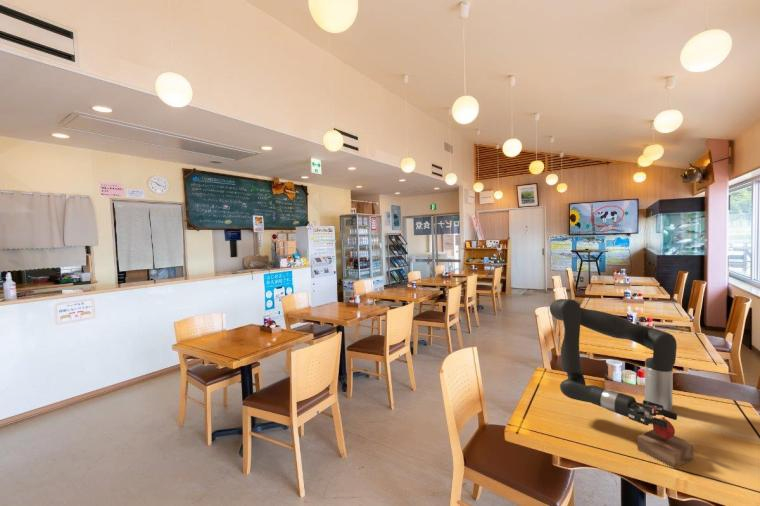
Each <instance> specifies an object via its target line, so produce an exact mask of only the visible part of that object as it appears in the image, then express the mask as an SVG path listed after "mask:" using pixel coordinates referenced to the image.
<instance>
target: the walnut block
mask: <svg viewBox="0 0 760 506" xmlns="http://www.w3.org/2000/svg"><path fill="white" fill-rule="evenodd" d="M694 446H695V445H694V443H692V442H689V441H687V440H685V439H682V438H680V437H678V436H675V435H674V436H673V437H671V438H669V439H667V440H663V439H662V438H661V437H659V436H658V435H657V434H656V433H655V431H654V429H653V428H652V429H651V430H648V431H647V432H644V433H642V434H639V435H637V451H639V452H641V453H642V452H643V454H644V453H645V455H646V454H647V456H648V455H649V456H648V457H650V456H651V457H650V458H652V457H653V458H652V459H654V458H655V459H654V460H656V459H657V460H656V461H658V460H659V461H658V462H660V461H661V462H660V463H662V462H663V463H662V464H664V463H665V464H664V465H666V464H667V465H666V466H668V465H669V466H668V467H670V466H671V467H670V468H672V467H673V468H672V469H674V468H675V469H677V468H679V467H681V466H682V465H681V464H683V465H684V463H685V462H686V463H688V462H690V461H692V460H693V459H694ZM691 459H692V460H691ZM689 460H690V461H689ZM687 461H688V462H687ZM686 463H685V464H686ZM680 465H681V466H680ZM678 466H679V467H678ZM676 467H677V468H676Z"/></svg>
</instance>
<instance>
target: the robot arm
mask: <svg viewBox="0 0 760 506" xmlns="http://www.w3.org/2000/svg"><path fill="white" fill-rule="evenodd" d="M549 312H550V314H551V315H552V317H553V318H555V319H556V320H558V321H561V322H563V328H564V334H563V339H562V343H561V347H560V361H561V369H562V371H563V372H564V373H566V375H567V378H566V379H564V380H562V381H561V382H560V384H559V389H560V391H561V392H562V394H563V395H564V396H566V397H567V398H569V399H571V400H574V401H575V400H576V401H580V402H585V403H591V404H593V405H595V406H598V407H601V408H603V409H606V410H607V411H610V412H612V413H615V414H618V415H621V416H623V417H626V418H627V419H629V420H631V421H633V422H637V423H639V424H642V425H644V426H646V427H647V426H649V425H651V426H653V424H654V425H657V426H660V427H663V428H668V422H667V421H664V420H661V419H659V417H656V416H661V417H665V418H668V419H670V420H674V421H677V420H678V414H677V413H676V412H673V393H674V392H673V391H674V389H673V388H674V387H673V380H674V377H673V375H674V373H673V369H674V365H675V364H676V358H677V346H678V345H677V340H676V338H675V336H674V334H673V335H672V333H668V332H666V331H663V330H660V329H659V328H653V327H648V326H644V325H639V324H636V323H634V322H631V321H630V320H628V319H626V318H624V317H621V316H620V315H619V316H618V315H615V314H612V313H608V312H605V311H601V310H597V309H596V310H595V309H589V308H584V307H581V305H580V303H578V301H576V300H575V299H572V298H560V299H556V300H554V301H552V302H551V303H550V305H549ZM581 326H582V327H584V328H587V329H589V330H591V331H594V332H597V333H599V334H602V335H605V336H608V337H610V338H614V339H619V340H620V339H621V340H629V341H632V342H634V343H637V344H639V345H641V346H642V347H645V348H646V349H649V350H651V351H653V352H652V357H648V358H646V359H645V361H644V365H645V366H644V400H642V403H641V402H638V401H637V400H636V398H635V397H634V396H633V395H629V394H625V393H623V392H619V391H615V390H613V389H608V388H604V387H601V386H598V385H594V384H589V385H587V384H586V380H585V377H584V373H583V371H582V364H581V356H580V353H581V352H580V335H581V334H580V333H581Z"/></svg>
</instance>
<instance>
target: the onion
mask: <svg viewBox="0 0 760 506" xmlns="http://www.w3.org/2000/svg"><path fill="white" fill-rule="evenodd" d="M658 419H661V420H664V421H667V422H668V428H663V427H660V426H657V425H654V424H653V425H652V430H653V429H654V431H655V433H656V434H657V435H658V436H659V437H661V438H662V439H663V440H667V439H669V438H671V437H673V436H675V433H676V431H675V430H676V429H675V426H674V425H673V424H672V423H671V422H670V421H669V420H668V419H666V417H664V416H661V417H658Z"/></svg>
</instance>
